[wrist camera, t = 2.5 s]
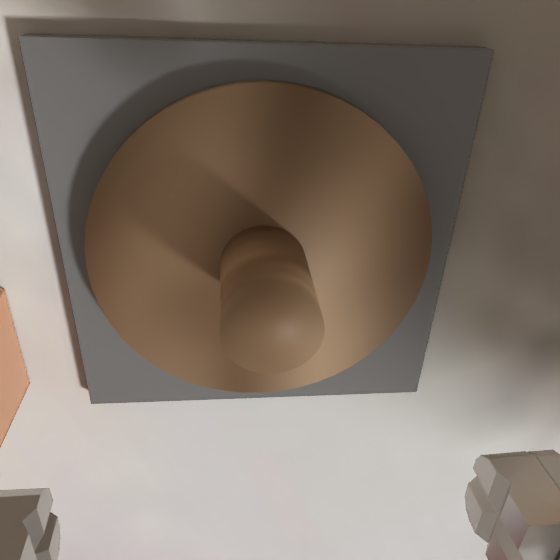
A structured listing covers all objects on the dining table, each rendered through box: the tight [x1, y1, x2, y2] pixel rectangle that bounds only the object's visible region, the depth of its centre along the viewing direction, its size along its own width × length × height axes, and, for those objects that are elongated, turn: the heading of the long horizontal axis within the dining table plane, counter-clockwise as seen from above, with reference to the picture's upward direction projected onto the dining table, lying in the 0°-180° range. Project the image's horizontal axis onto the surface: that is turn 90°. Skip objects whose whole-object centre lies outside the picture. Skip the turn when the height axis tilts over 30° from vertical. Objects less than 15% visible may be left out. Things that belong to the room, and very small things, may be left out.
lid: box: [84, 79, 432, 393], centre depth 17 cm, size 12×12×5 cm
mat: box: [18, 34, 494, 404], centre depth 19 cm, size 14×14×1 cm
